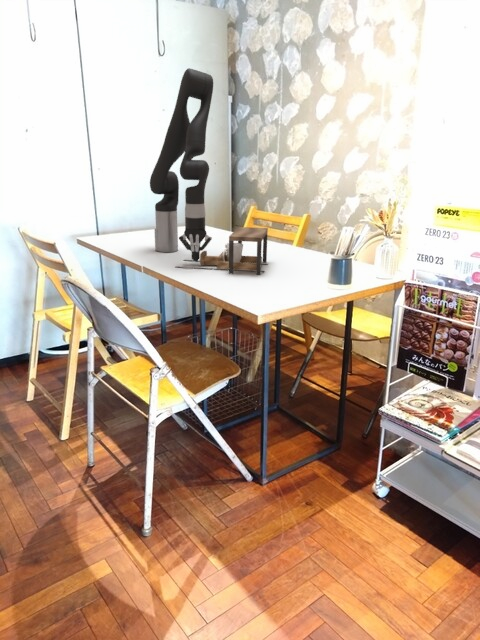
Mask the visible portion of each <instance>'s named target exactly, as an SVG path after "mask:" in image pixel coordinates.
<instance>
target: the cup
mask: <svg viewBox="0 0 480 640" xmlns="http://www.w3.org/2000/svg"><path fill="white" fill-rule="evenodd" d="M224 247H225V248H224V249H223V251H222V252H223V255H222V259H223V262H225V260H224V255H225V252H226V255H227V259H228V262H229V242H227V243H225V245H224ZM243 249H244V244H243V243H242V244H241V243H238V242H234V251H233V262H240V260H241V256H243ZM240 263H241V262H240Z"/></svg>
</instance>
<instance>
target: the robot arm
mask: <svg viewBox="0 0 480 640" xmlns="http://www.w3.org/2000/svg"><path fill="white" fill-rule="evenodd" d="M213 91H214V79H213V76H212V75H211V74H209V73H206V72H203V71H200V70H198V69H197V70H196V69H193V68H187V69H186V70H185V71H184V72H183V75H182V78H181V81H180V85H179V89H178V94H177V97H176V102H175V106H174V109H173V113H172V115H171V118H170V119H171V120H170V122H169V125H168V128H167V131H166V135H165V137H164V141H163V143H162V148H161V150H160V154H159V157H158V159H157V161H156V163H155V165H154V167H153V170H152V172H151V175H150V179H149V188H150V191H151V193H153V194H154V195H163V197H162V199H161V200H160V201H157V202H156V203H155V204H154V211H155V212H154V213H155V228H154V248H155V249H154V250H155V251H156V252H160V253H174V252H177V251H178V250H179V240H180V243H182V245H183V246H184V247H185V249H186V250H187V251H190V253H191V260H193V261H192V262H198V261H200V254H201V251H202V252H203V251H204V250H205V248H206V247H207V246H209V245H208V244H210V242H211V241H212V239H213V238H212V237H211V236H209V235H208V234H207V231H206V206H205V193H206V192H205V191H206V190H205V189H206V183H207V180H208V176H209V173H210V166H209V164H208V162H207V161H206V160H205V159H204V160H203V159H193V158H196V157H199V156H202V155H203V154H205V153H206V139H207V136H206V135H207V126H208V119H209V115H210V111H211V110H210V109H211V104H212V98H213V93H214V92H213ZM189 98H192V99H195V100H196V99H197V100H200V105H199V109H198V111H197V112H196V114H195V116H194V117H193V119H192V120H191V121H190V118H189V115H188V100H189ZM182 155H183V158H182V160H181V164H180V166H179V173H180V177H181V178H182V179H183V180H186V181H198V183H197V184H196V185H192V186H187V187H186V188H185V192H184V194H185V207H184V219H185V220H184V221H185V222H184V225H185V230H184V232H183V234H182V235H180V236H179V234H178V233H179V232H178V229H179V228H178V205H179V197H180V196H179V192H180V191H179V190H180V184H179V183H180V181H179V178H178V175H177V174H176V172H174V171H172V170H171V168H172V167H173V165H174V164H175V163H176V162H177V161H178V160H179V158H181V157H182ZM203 240H204V242H203ZM202 242H203V243H202ZM201 243H202V244H201Z"/></svg>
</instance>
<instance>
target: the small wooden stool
mask: <svg viewBox="0 0 480 640" xmlns="http://www.w3.org/2000/svg"><path fill="white" fill-rule="evenodd" d="M268 232H269V231H268V227H249V226H248V227H247V226H243V227H242V226H238V227H237V228H236V229H235V230H234V231H232V233H231V234H230V235H229V236H228V243H229V270H228V274H230V273H232V274H234V271H233V270H234V269H233V251H234V243H235V242H237V243H241V244H243V242H248V243H249V242H250V243H251V242H254V243H255V242H256V256H257V269H256V272H255V275H257V276H261V273H262V272H261V271H262V265H261V264H262V263H263V264H267V259H268V258H267V256H268ZM262 241H263V243H262ZM261 257H262V263H261Z"/></svg>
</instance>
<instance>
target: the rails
mask: <svg viewBox="0 0 480 640" xmlns="http://www.w3.org/2000/svg"><path fill="white" fill-rule="evenodd" d="M182 261H184V262H194V261H193V260H192V259H183V260H182ZM197 262H200V260H198V261H197ZM263 265H264V266H267V265H269V264H268V263H261V266H263ZM174 268H175V269H176V268H177V269H178V268H179V269H193V268H194V269H197V270H212V269H214V270H215V271H229V269H217V268H213V267H212V268H211V267H210V268H208V267H194V266H193V267H189V266H175V267H174ZM194 269H193V270H194ZM214 270H213V271H214ZM235 271H236V272H250V273H251V272H252V273H254V272H255V273H256V271H255V270H236V269H233V272H235ZM261 273H265V270H261Z"/></svg>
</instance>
